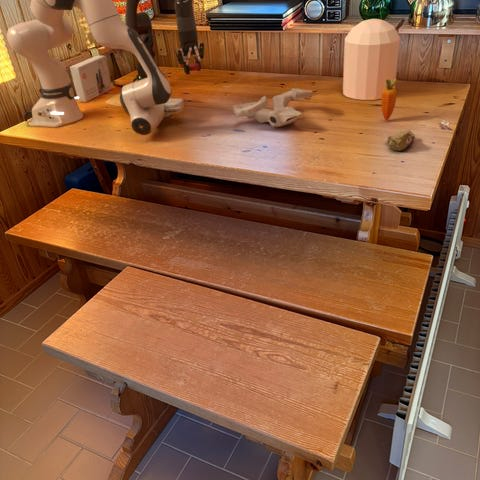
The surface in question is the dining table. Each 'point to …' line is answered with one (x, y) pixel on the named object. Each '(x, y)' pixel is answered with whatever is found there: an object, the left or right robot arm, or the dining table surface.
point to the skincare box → (91, 78)
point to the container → (370, 59)
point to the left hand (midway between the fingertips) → (162, 99)
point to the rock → (400, 140)
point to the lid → (193, 66)
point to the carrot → (388, 99)
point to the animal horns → (280, 112)
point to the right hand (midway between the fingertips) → (193, 72)
